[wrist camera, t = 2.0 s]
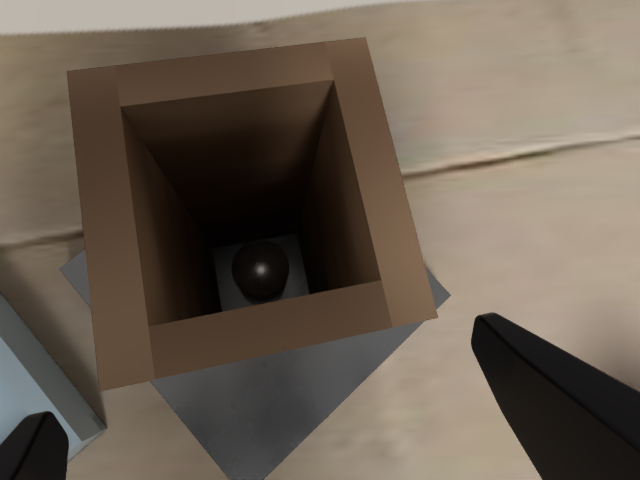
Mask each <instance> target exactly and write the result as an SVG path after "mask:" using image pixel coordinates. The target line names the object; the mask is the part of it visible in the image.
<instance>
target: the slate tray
mask: <svg viewBox="0 0 640 480" xmlns="http://www.w3.org/2000/svg"><path fill="white" fill-rule="evenodd" d="M44 411H50V412H52V413H53V414H54V415H55V417H56V418H57V420H58V421H59V423H60V424H61V426H62V427H63V429H64V430H65V432H66V433H67V436H68V439H69V451H68V461H67V462H69V461H70V460H71V459H72V458H73V457H74V456H76V455H77V454H78V453H79V452H80V451H81V450H83V449H84V448H85V447H86V446H87V445H88V444H90V443H91V442H92V441H93V440H94V439H95V438H97V437H98V436H99V435H100V434H101V433H102V432H104V431H105V430H106V429H107V427H106V426H105V425H104V424H103V422H102V421H101V420H100V419H99V417H98V416H97V415H96V413H95V412H94V411H93V410H92V408H91V407H90V406H89V405H88V403H87V402H86V401H85V399H84V398H83V397H82V396H81V394H80V393H79V392H78V391H77V389H76V388H75V387H74V385H73V384H72V383H71V382H70V380H69V379H68V378H67V377H66V375H65V374H64V373H63V371H62V370H61V369H60V368H59V366H58V365H57V364H56V363H55V361H54V360H53V359H52V358H51V356H50V355H49V354H48V352H47V351H46V350H45V349H44V347H43V346H42V345H41V344H40V342H39V341H38V340H37V338H36V337H35V336H34V335H33V333H32V332H31V331H30V330H29V328H28V327H27V326H26V324H25V323H24V322H23V321H22V319H21V318H20V317H19V316H18V314H17V313H16V312H15V311H14V309H13V308H12V307H11V305H10V304H9V303H8V302H7V300H6V299H5V298H4V297H3V295H2V294H1V293H0V444H1V443H2V442H3V441H4V440H5V438H6V437H7V436H8V435H9V434H10V433H11V432H12V431H13V430H14V428H15V427H16V426H17V425H18V424H19V423H20V422H21V421H22V420H23V419H24V418H25V417H26V416H28V415H30V414H35V413H39V412H44Z"/></svg>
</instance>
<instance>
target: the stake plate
mask: <svg viewBox="0 0 640 480" xmlns="http://www.w3.org/2000/svg"><path fill="white" fill-rule="evenodd" d="M212 251H213V257H214V264H215V270H216V276H217V282H218V288H219V295H220V301H221V307H222V312H224V311H229V310H234V309H239V308H244V307H249V306H254V305H259V304H264V303H269V302H274V301H279V300H284V299H289V298H294V297H299V296H304V295H309V289H308V284H307V279H306V274H305V269H304V264H303V259H302V255H301V250H300V245H299V240H298V235H297V233H295V234H290V235H284V236H279V237H273V238H267V239H262V240H254V241H251V242H245V243H239V244H234V245H228V246H222V247H217V248H212ZM59 269H60V271H61V272H62V273H63V274H64V276H65V277H66V278H67V279H68V281H69V282H70V283H71V284H72V286H73V287H74V288H75V289H76V290H77V292H78V293H79V294H80V295H81V297H82V298H83V299H84V300H85V302H86V303H87V304H88V305H89V307H90V308H91V302H90V292H89V282H88V273H87V263H86V253H85V250H83V251H82V252H81V253H79V254H78V255H77V256H75V257H74V258H72V259H71V260H70V261H68V262H67V263H66V264H64V265H63V266H62V267H60V268H59ZM425 269H426V268H425ZM426 272H427V276H428V280H429V284H430V288H431V292H432V296H433V299H434V303H435V307H436V309H437V308H438V307H439V306H440V305H441V304H442V303H444V302H445V301H446V300H447V299H448V298H449V297H450V296H451V295H450V294H449V293H448V292H447V291H446V289H445V288H444V287H443V286H442V285H441V284H440V283H439V282H438V281H437V280H436V279H435V277H434V276H433V275H432V274H431V273H430V272H429V271H428V270H427V269H426ZM423 322H424V321H421V322H416V323H412V324H407V325H403V326H398V327H393V328H389V329H384V330H380V331H375V332H370V333H366V334H361V335H357V336H352V337H347V338H343V339H338V340H334V341H329V342H324V343H320V344H315V345H311V346H306V347H302V348H297V349H292V350H288V351H283V352H279V353H274V354H269V355H265V356H260V357H256V358H251V359H246V360H242V361H237V362H233V363H228V364H223V365H219V366H214V367H210V368H205V369H201V370H196V371H191V372H187V373H182V374H178V375H173V376H168V377H164V378H159V379H155V380H150V382H151V383H152V384H153V386H154V387H155V388H156V389H157V391H158V392H159V393H160V394H161V395H162V397H163V398H164V399H165V400H166V402H167V403H168V404H169V405H170V407H171V408H172V409H173V410H174V412H175V413H176V414H177V415H178V416H179V418H180V419H181V420H182V421H183V423H184V424H185V425H186V426H187V428H188V429H189V430H190V431H191V432H192V434H193V435H194V436H195V437H196V439H197V440H198V441H199V442H200V444H201V445H202V446H203V447H204V449H205V450H206V451H207V452H208V453H209V455H210V456H211V457H212V458H213V460H214V461H215V462H216V463H217V465H218V466H219V467H220V468H221V470H222V471H223V472H224V473H225V474H226V476H227V477H228V478H229V479H230V480H263V479H264V478H265V477H267V476H268V475H269V474H270V473H271V472H272V471H273V470H274V469H275V468H276V467H277V466H278V465H279V464H280V463H281V462H282V461H283V460H284V459H285V458H286V457H287V456H288V455H289V454H290V453H291V452H292V451H293V450H294V449H295V448H296V447H297V446H298V445H299V444H300V443H301V442H302V441H303V440H304V439H305V438H306V437H307V436H308V435H309V434H310V433H311V432H312V431H313V430H314V429H315V428H316V427H317V426H318V425H319V424H320V423H321V422H322V421H323V420H324V419H326V418H327V417H328V416H329V415H330V414H331V413H332V412H333V411H334V410H335V409H336V408H337V407H338V406H339V405H340V404H341V403H342V402H343V401H344V400H345V399H346V398H347V397H348V396H349V395H350V394H351V393H352V392H353V391H354V390H355V389H356V388H357V387H358V386H359V385H360V384H361V383H362V382H363V381H364V380H365V379H366V378H367V377H368V376H369V375H370V374H371V373H372V372H373V371H374V370H375V369H376V368H377V367H378V366H379V365H380V364H381V363H382V362H383V361H385V360H386V359H387V358H388V357H389V356H390V355H391V354H392V353H393V352H394V351H395V350H396V349H397V348H398V347H399V346H400V345H401V344H402V343H403V342H404V341H405V340H406V339H407V338H408V337H409V336H410V335H411V334H412V333H413V332H414V331H415V330H416V329H417V328H418V327H419V326H420V325H421V324H422V323H423Z"/></svg>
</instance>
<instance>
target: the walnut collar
mask: <svg viewBox="0 0 640 480" xmlns="http://www.w3.org/2000/svg"><path fill="white" fill-rule="evenodd" d="M67 77H68V87H69V97H70V107H71V116H72V126H73V136H74V146H75V155H76V165H77V175H78V185H79V195H80V204H81V214H82V224H83V234H84V243H85V253H86V263H87V273H88V282H89V292H90V302H91V312H92V321H93V331H94V341H95V351H96V360H97V370H98V380H99V390H100V391H104V390H109V389H113V388H118V387H122V386H127V385H132V384H136V383H141V382H145V381H150V380H155V379H159V378H164V377H168V376H173V375H178V374H182V373H187V372H191V371H196V370H201V369H205V368H210V367H214V366H219V365H223V364H228V363H233V362H237V361H242V360H246V359H251V358H256V357H260V356H265V355H269V354H274V353H279V352H283V351H288V350H292V349H297V348H302V347H306V346H311V345H315V344H320V343H324V342H329V341H334V340H338V339H343V338H347V337H352V336H357V335H361V334H366V333H370V332H375V331H380V330H384V329H389V328H393V327H398V326H403V325H407V324H412V323H416V322H421V321H425V320H430V319H435V318H438V315H437V311H436V307H435V303H434V299H433V296H432V292H431V288H430V284H429V280H428V276H427V272H426V269H425V265H424V261H423V257H422V253H421V249H420V245H419V242H418V238H417V234H416V230H415V226H414V222H413V218H412V215H411V211H410V207H409V203H408V199H407V195H406V191H405V188H404V184H403V180H402V176H401V172H400V168H399V164H398V161H397V157H396V153H395V149H394V145H393V141H392V137H391V134H390V130H389V126H388V122H387V118H386V114H385V110H384V107H383V103H382V99H381V95H380V91H379V87H378V83H377V80H376V76H375V72H374V68H373V64H372V60H371V56H370V53H369V49H368V45H367V41H366V37H364V38H355V39H346V40H337V41H328V42H320V43H311V44H302V45H293V46H284V47H275V48H267V49H258V50H249V51H240V52H231V53H222V54H214V55H205V56H196V57H187V58H178V59H169V60H161V61H152V62H143V63H134V64H125V65H116V66H108V67H99V68H90V69H81V70H72V71H67ZM295 233H297V235H298V240H299V245H300V250H301V255H302V259H303V264H304V269H305V274H306V279H307V284H308V289H309V295H304V296H299V297H294V298H289V299H284V300H279V301H274V302H269V303H264V304H259V305H254V306H249V307H244V308H239V309H234V310H229V311H224V312H222V307H221V301H220V295H219V288H218V282H217V276H216V270H215V264H214V257H213V251H212V248H217V247H222V246H228V245H234V244H239V243H245V242H251V241H254V240H262V239H267V238H273V237H279V236H284V235H290V234H295Z"/></svg>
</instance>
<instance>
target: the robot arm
mask: <svg viewBox="0 0 640 480" xmlns="http://www.w3.org/2000/svg"><path fill="white" fill-rule="evenodd" d="M471 346H472V350H473V352H474V354H475V356H476V359H477V361H478V363H479V365H480V367H481V369H482V371H483V373H484V376H485V378H486V380H487V382H488V384H489V386H490V388H491V391H492V393H493V395H494V397H495V399H496V401H497V403H498V405H499V407H500V409H501V411H502V413H503V415H504V417H505V418H506V420H507V422H508V423H509V425H510V427H511V428H512V430H513V432H514V433H515V435H516V437H517V438H518V440H519V442H520V443H521V445H522V447H523V448H524V450H525V452H526V453H527V455H528V457H529V458H530V460H531V462H532V463H533V465H534V467H535V468H536V470H537V471H538V473H539V475H540V476H541V478H542V480H640V392H639V391H637V390H635V389H633V388H631V387H630V386H628V385H626V384H624V383H622V382H620V381H619V380H617V379H615V378H613V377H611V376H610V375H608V374H606V373H604V372H602V371H600V370H599V369H597V368H595V367H593V366H591V365H590V364H588V363H586V362H584V361H582V360H580V359H579V358H577V357H575V356H573V355H571V354H570V353H568V352H566V351H564V350H562V349H560V348H559V347H557V346H555V345H553V344H551V343H550V342H548V341H546V340H544V339H542V338H540V337H539V336H537V335H535V334H533V333H531V332H530V331H528V330H526V329H524V328H522V327H520V326H519V325H517V324H515V323H513V322H511V321H510V320H508V319H506V318H504V317H502V316H500V315H499V314H497V313H487V314H482V315H478V316H477V317H476V318H475V321H474V327H473V333H472V338H471ZM68 451H69V439H68V436H67V433H66V432H65V430H64V429H63V427H62V426H61V424H60V423H59V421H58V420H57V418H56V417H55V415H54V414H53V413H52V412H50V411H44V412H39V413H35V414H30V415H28V416H26V417H25V418H24V419H23V420H22V421H21V422H20V423H19V424H18V425H17V426H16V427H15V428H14V430H13V431H12V432H11V433H10V434H9V435H8V436H7V437H6V438H5V440H4V441H3V442H2V443H1V444H0V480H66V472H67V461H68Z"/></svg>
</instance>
